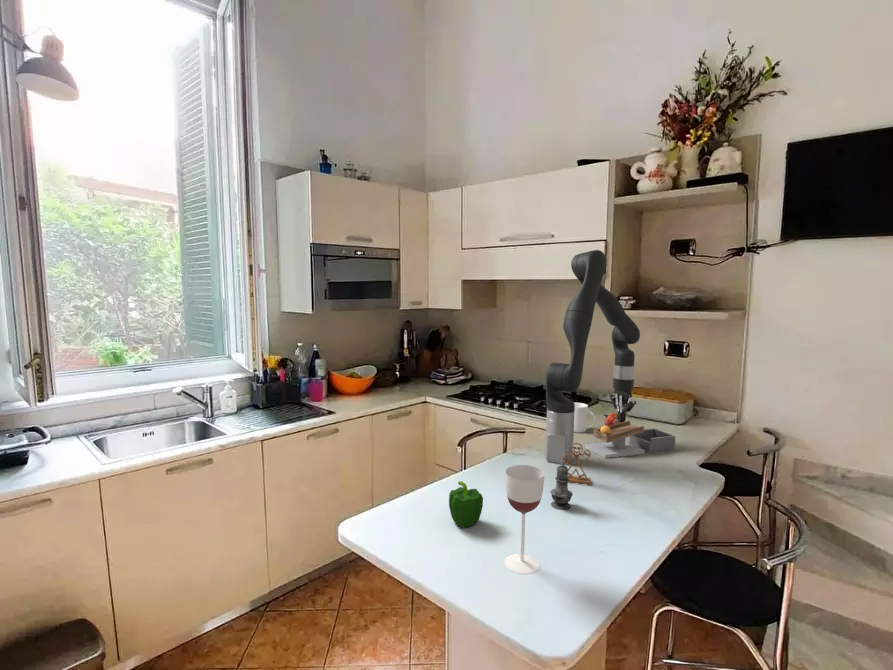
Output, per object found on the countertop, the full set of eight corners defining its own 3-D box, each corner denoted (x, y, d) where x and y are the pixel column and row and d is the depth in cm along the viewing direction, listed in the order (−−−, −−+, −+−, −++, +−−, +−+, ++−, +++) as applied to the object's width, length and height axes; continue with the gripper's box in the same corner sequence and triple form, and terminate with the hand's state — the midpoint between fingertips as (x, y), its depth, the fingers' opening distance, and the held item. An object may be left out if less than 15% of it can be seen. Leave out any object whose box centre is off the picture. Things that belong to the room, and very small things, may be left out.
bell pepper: (487, 528, 119) (488, 488, 118) (454, 532, 116) (455, 492, 115) (475, 513, 127) (476, 476, 126) (444, 517, 124) (445, 479, 123)
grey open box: (674, 449, 181) (675, 436, 180) (649, 452, 177) (650, 438, 176) (653, 440, 191) (654, 428, 190) (629, 443, 187) (630, 430, 186)
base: (644, 453, 175) (645, 438, 175) (605, 458, 170) (606, 442, 169) (622, 443, 187) (623, 429, 186) (584, 447, 181) (585, 433, 181)
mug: (591, 435, 196) (592, 409, 195) (562, 430, 202) (563, 405, 201) (597, 430, 203) (598, 405, 202) (569, 425, 210) (570, 401, 209)
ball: (609, 437, 174) (610, 427, 174) (599, 435, 175) (599, 426, 175) (611, 434, 177) (611, 425, 177) (601, 433, 179) (601, 423, 178)
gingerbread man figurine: (559, 481, 148) (561, 443, 147) (560, 477, 152) (562, 439, 151) (590, 485, 146) (592, 446, 145) (590, 480, 150) (592, 442, 149)
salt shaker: (568, 512, 128) (570, 468, 127) (546, 506, 131) (548, 463, 130) (575, 504, 133) (576, 461, 132) (554, 499, 136) (555, 457, 135)
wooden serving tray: (644, 432, 177) (643, 425, 176) (607, 442, 172) (606, 436, 172) (617, 421, 191) (616, 415, 191) (582, 430, 186) (581, 424, 186)
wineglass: (498, 570, 101) (501, 476, 99) (508, 549, 109) (511, 462, 107) (536, 578, 98) (540, 483, 96) (544, 556, 106) (547, 468, 105)
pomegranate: (618, 432, 208) (600, 416, 211) (630, 421, 205) (611, 405, 208) (616, 439, 202) (596, 422, 204) (628, 427, 199) (608, 411, 201)
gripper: (643, 379, 181) (641, 425, 182) (620, 373, 193) (618, 416, 195) (627, 380, 178) (624, 427, 180) (604, 374, 191) (602, 417, 192)
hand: (621, 421), depth 187 cm, fingers closed
